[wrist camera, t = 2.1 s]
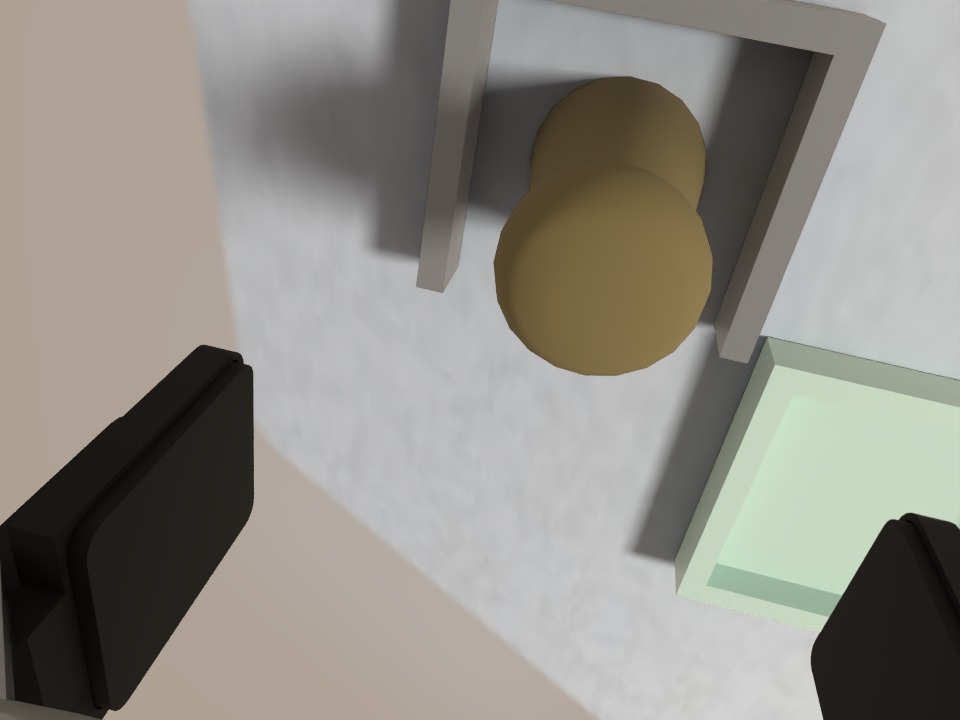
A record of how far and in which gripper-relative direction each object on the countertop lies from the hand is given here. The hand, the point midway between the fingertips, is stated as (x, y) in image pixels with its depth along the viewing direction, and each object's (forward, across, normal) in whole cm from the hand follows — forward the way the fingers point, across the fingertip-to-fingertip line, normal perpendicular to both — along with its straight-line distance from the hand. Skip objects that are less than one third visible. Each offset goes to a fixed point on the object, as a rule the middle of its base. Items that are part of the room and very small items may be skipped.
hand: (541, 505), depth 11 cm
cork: (+18, -1, 0) cm, 18 cm away
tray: (+18, -14, +11) cm, 25 cm away
